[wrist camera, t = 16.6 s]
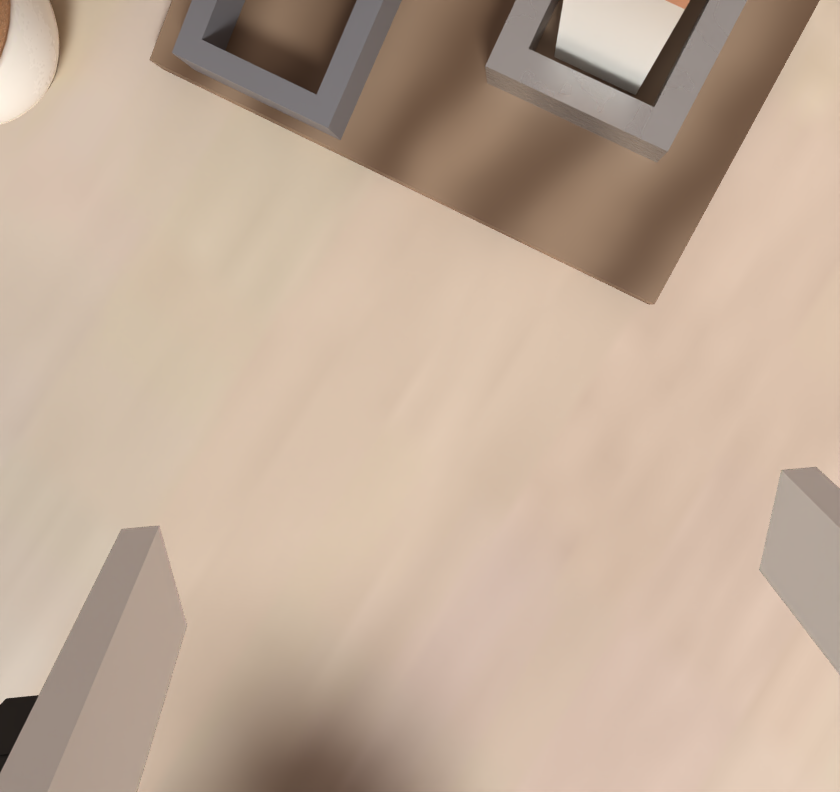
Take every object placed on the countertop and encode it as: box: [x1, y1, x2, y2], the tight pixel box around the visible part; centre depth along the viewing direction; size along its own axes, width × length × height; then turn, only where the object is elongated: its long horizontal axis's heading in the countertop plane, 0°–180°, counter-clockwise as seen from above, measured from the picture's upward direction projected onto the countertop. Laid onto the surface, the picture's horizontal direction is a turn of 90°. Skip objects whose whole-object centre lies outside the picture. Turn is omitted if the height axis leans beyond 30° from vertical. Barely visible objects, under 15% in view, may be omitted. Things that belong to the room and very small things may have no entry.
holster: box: [172, 0, 402, 140], centre depth 35 cm, size 9×9×2 cm
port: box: [485, 0, 747, 163], centre depth 33 cm, size 10×10×2 cm
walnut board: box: [150, 0, 820, 304], centre depth 36 cm, size 30×16×2 cm, turn 64°
